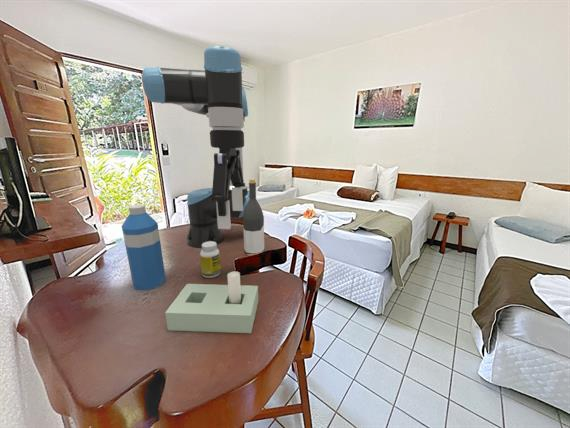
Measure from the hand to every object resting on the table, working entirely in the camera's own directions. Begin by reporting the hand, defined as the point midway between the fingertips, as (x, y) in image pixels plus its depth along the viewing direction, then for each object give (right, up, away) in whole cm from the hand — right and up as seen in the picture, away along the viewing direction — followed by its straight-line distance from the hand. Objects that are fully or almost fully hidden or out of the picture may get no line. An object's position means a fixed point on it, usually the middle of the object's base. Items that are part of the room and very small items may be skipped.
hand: (231, 218), depth 61 cm
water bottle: (-30, -21, +16) cm, 40 cm away
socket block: (-4, -25, +2) cm, 25 cm away
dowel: (+1, -25, +2) cm, 25 cm away
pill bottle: (-12, -19, +22) cm, 31 cm away
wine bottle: (+1, -15, +38) cm, 40 cm away
